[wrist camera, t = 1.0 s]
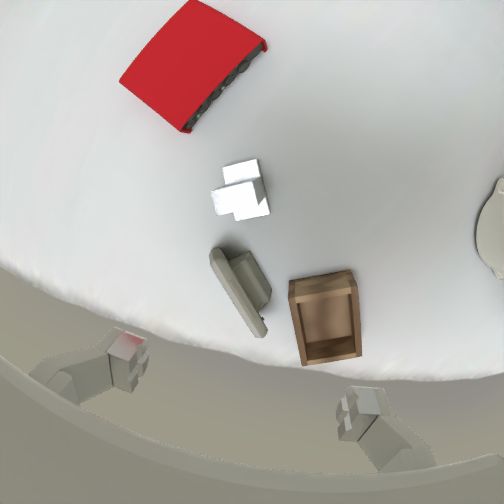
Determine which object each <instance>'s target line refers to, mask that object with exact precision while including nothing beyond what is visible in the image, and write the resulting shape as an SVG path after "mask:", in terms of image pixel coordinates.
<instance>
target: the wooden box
mask: <svg viewBox="0 0 504 504" xmlns="http://www.w3.org/2000/svg"><path fill="white" fill-rule="evenodd" d="M288 301H289V305H290V310H291V315H292V320H293V324H294V329H295V334H296V339H297V344H298V349H299V354H300V359H301V364H302V366H307V365H314V364H321V363H327V362H333V361H339V360H344V359H350V358H355V357H360V356H362V341H361V323H360V309H359V297H358V286H357V284H356V281H355V279H354V277H353V274H352V272H351V270H345V271H340V272H335V273H329V274H324V275H319V276H313V277H307V278H302V279H296V280H290V281H289V290H288Z"/></svg>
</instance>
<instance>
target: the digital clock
mask: <svg viewBox="0 0 504 504" xmlns="http://www.w3.org/2000/svg"><path fill="white" fill-rule="evenodd" d="M209 259H210V265H211V267H212V269H213V271H214V273H215V274H216V276H217V278H218V279H219V281H220V283H221V284H222V286H223V287H224V289H225V291H226V292H227V294H228V296H229V297H230V299H231V300H232V302H233V304H234V305H235V307H236V308H237V310H238V312H239V313H240V315H241V316H242V318H243V319H244V321H245V323H246V324H247V326H248V327H249V329H250V330H251V332H252V333H253V335H254V336H255V337H257V338H264V337H265V336H266V334H267V331H268V329H267V327H266V326H265V324H264V322H263V320H264V318H263V317H261V316H260V314H259V312H258V311H259V310H260V309H261V307H262V306H263V305H264V304H266V303H267V302H268V301H269V300H270V297H271V292H272V289H271V287H270V286H269V284H268V282H267V280H266V279H265V277H264V275H263V273H262V272H261V270H260V268H259V266H258V264H257V263H256V261H255V259H254V257H253V256H252V254H251V252H250V251H248V252H246V253H244V254H242V255H240V256H238V257H236V258H234V259H232V260H229V261H228V260H227V259H226V257H225V255H224V254H223V252H222V250H221V249H219V248H214V249H212V250H211V252H210V254H209ZM234 274H235V275H234ZM232 281H233V282H232ZM235 286H236V287H235ZM238 291H239V292H238Z"/></svg>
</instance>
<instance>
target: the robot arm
mask: <svg viewBox="0 0 504 504" xmlns="http://www.w3.org/2000/svg"><path fill="white" fill-rule="evenodd" d="M476 241H477V248H478V252H479V255H480V257H481V259H482V261H483V262H484V263H485V264H486V265H487V266H489V267H491V268H492V269H493V271H494V273H495V275H496V277H497V278H499V279H504V178H500V179H499V180H498V182H497V184H496V187H495V190H494V193H493V195H492V196H491V197H490V198H489V200H488V201H487V202H486V204H485V206H484V208H483V210H482V212H481V214H480V217H479V221H478V225H477V234H476ZM148 344H149V343H148V339H146V338H144V337H141V336H138V335H136V334H133V333H131V332H128V331H125V330H122V329H120V328H117V327H113V328H112V329H111V330H110V331H109V332H108V333H107V334H106V335H105V336H104V337H103V338H102V339H101V341H99V343H98V344H97V345H96V346H95V347H91V346H90V347H87V348H83V349H80V350H76V351H73V352H69V353H65V354H61V355H58V356H53V357H50V358H46V359H44V360H42V361H41V362H40V363H39V365H37V366H36V367H35V368H34V369H33V370H32V371H31V372H30V373H29V374H28V375H27V374H25V373H24V372H22V371H21V370H19V369H18V368H17V367H15V366H14V365H13V364H11V363H10V362H9V361H7V360H6V359H5V358H4V357H2V356H1V355H0V504H504V458H503V457H502V456H500V455H499V454H496V453H492V454H488V455H485V456H481V457H477V458H474V459H470V460H465V461H461V462H457V463H452V464H447V465H443V466H436V463H435V460H434V456H433V454H432V451H431V448H430V446H429V445H428V444H427V443H426V442H425V441H423V440H422V439H421V438H420V437H419V436H418V435H417V434H416V433H415V432H414V431H412V430H411V429H410V428H409V427H408V426H407V425H406V424H405V423H403V422H402V421H401V420H400V419H399V418H398V417H397V416H393V414H392V411H391V408H390V405H389V402H388V399H387V396H386V393H385V390H384V389H383V388H371V387H360V386H351V385H350V386H349V387H348V388H347V390H346V392H345V393H346V397H344V398H342V399H341V400H340V402H339V404H338V406H337V410H336V419H337V421H338V422H339V423H340V425H339V427H338V436H339V440H340V441H354V442H358V444H359V445H360V447H361V448H362V450H363V451H364V452H365V454H366V455H367V456H368V458H369V459H370V460H371V462H372V463H373V464H374V466H375V467H376V468H377V470H378V471H379V472H378V473H375V474H374V473H373V474H322V473H307V472H294V471H285V470H276V469H270V468H263V467H257V466H251V465H245V464H240V463H235V462H230V461H226V460H221V459H217V458H213V457H209V456H205V455H201V454H197V453H194V452H190V451H187V450H184V449H181V448H177V447H174V446H171V445H168V444H165V443H162V442H159V441H156V440H153V439H151V438H148V437H146V436H143V435H140V434H138V433H135V432H133V431H130V430H128V429H125V428H123V427H121V426H118V425H116V424H114V423H112V422H110V421H107V420H105V419H103V418H101V417H99V416H97V415H95V414H93V413H91V412H89V411H87V410H85V409H83V408H81V406H80V403H82V402H84V401H86V400H89V399H91V398H93V397H95V396H97V395H99V394H101V393H103V392H105V391H107V390H109V389H111V388H112V387H116V388H118V389H121V390H123V391H126V392H129V393H132V392H133V391H134V389H135V387H136V386H137V384H138V378H139V377H141V376H143V374H144V373H145V371H146V368H147V365H148V359H149V355H148V353H147V352H146V350H147V348H148V347H149V345H148Z"/></svg>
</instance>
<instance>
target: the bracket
mask: <svg viewBox="0 0 504 504" xmlns="http://www.w3.org/2000/svg"><path fill="white" fill-rule="evenodd" d="M222 170H223V174H224V178H225V182H226V185H224V186H222V187H219V188H217V189H215V190H213V191H211V195H212V199H213V202H214V206H215V210H216V214H217V216H219V215H223V214H228V213H232V212H233V213H234V217H235V220H236V221H239V220H243V219H248V218H253V217H257V216H262V215H267V214H269V213H270V208H269V204H268V200H267V195H266V191H265V187H264V183H263V179H262V175H261V171H260V166H259V162H258V159H255V160H251V161H247V162H243V163H239V164H235V165H231V166H227V167H223V168H222Z"/></svg>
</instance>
